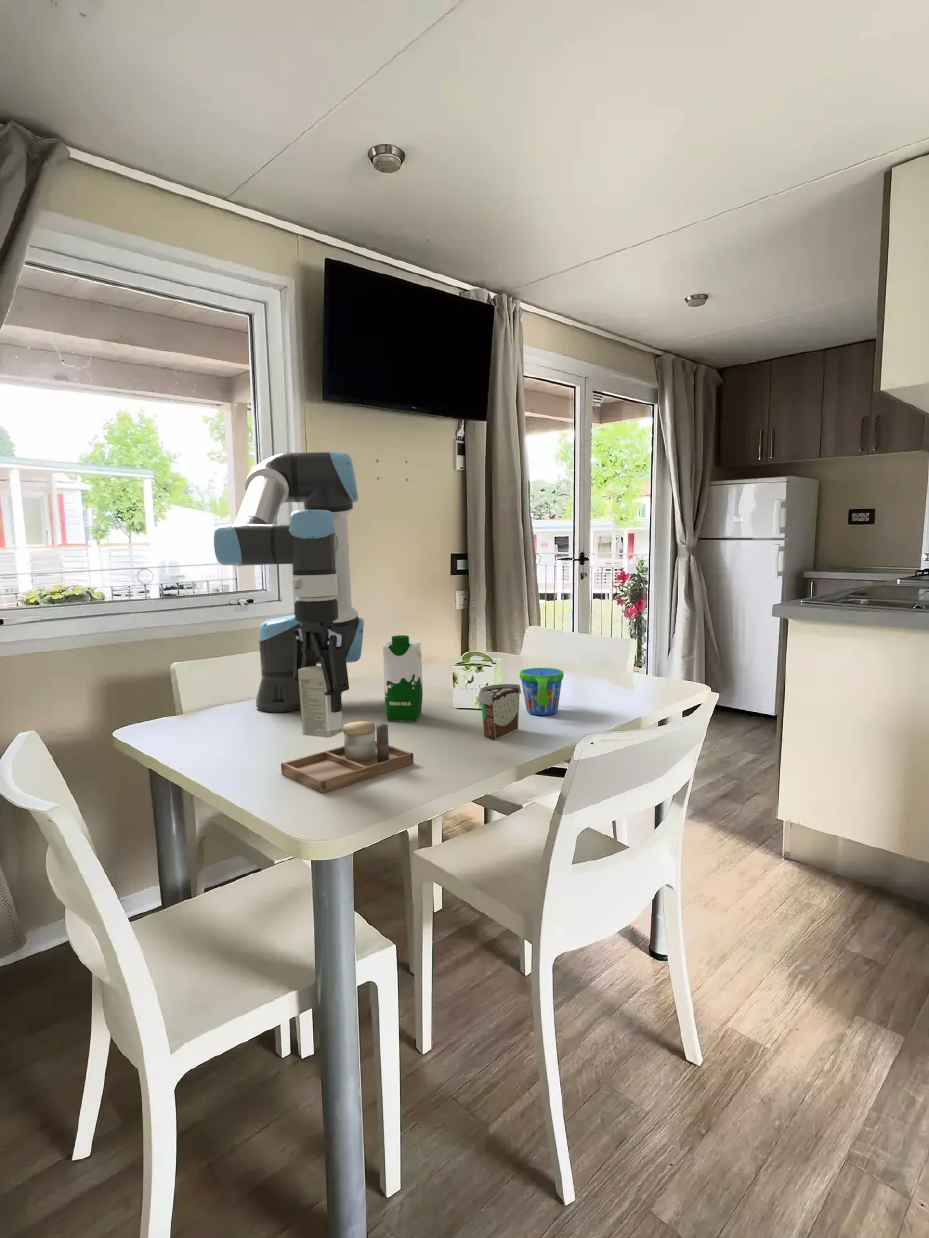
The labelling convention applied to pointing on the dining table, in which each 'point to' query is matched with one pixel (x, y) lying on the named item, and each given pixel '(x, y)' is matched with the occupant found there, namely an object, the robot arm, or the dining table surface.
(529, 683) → the snack cup
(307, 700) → the skincare box
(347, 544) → the robot arm
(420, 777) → the dining table surface
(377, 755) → the organizer
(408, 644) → the milk carton
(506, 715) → the food container
